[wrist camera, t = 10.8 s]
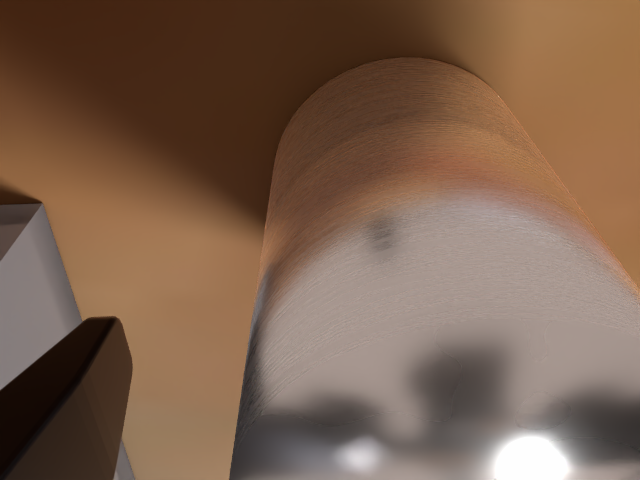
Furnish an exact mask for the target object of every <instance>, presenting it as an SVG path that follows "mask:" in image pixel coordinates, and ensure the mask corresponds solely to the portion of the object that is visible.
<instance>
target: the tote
mask: <svg viewBox="0 0 640 480" xmlns="http://www.w3.org/2000/svg"><path fill="white" fill-rule="evenodd" d="M81 323H82V319H81V316H80V313H79V310H78V307H77V304H76V301H75V298H74V295H73V292H72V289H71V286H70V283H69V280H68V277H67V274H66V271H65V268H64V265H63V263H62V260H61V257H60V254H59V251H58V248H57V245H56V242H55V239H54V236H53V233H52V230H51V227H50V224H49V221H48V218H47V215H46V212H45V209H44V206H43V203H40V204H13V205H0V390H1V389H2V388H3V387H4V386H6V385H7V384H8V383H9V382H10V381H12V380H13V379H14V378H15V377H16V376H18V375H19V374H20V373H21V372H23V371H24V370H25V369H26V368H27V367H29V366H30V365H31V364H32V363H33V362H35V361H36V360H37V359H38V358H39V357H41V356H42V355H43V354H44V353H46V352H47V351H48V350H49V349H50V348H52V347H53V346H54V345H55V344H56V343H58V342H59V341H60V340H61V339H62V338H64V337H65V336H66V335H67V334H69V333H70V332H71V331H72V330H73V329H75V328H76V327H77V326H78V325H79V324H81ZM114 480H135V478H134V475H133V472H132V469H131V466H130V463H129V460H128V457H127V454H126V451H125V448H124V445H123V442H122V439H121V444H120V449H119V455H118V461H117V466H116V471H115V476H114Z"/></svg>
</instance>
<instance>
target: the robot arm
mask: <svg viewBox="0 0 640 480" xmlns="http://www.w3.org/2000/svg"><path fill="white" fill-rule="evenodd" d="M132 369H133V366H132V357H131V354H130V350H129V347H128V343H127V340H126V336H125V333H124V329H123V326H122V323H121V321H120V320H119V319H118V318H117V317H114V316H107V317H91V318H88V319H86V320H84V321H83V322H82V323H81V324H79V325H78V326H77V327H76V328H75V329H73V330H72V331H71V332H70V333H69V334H67V335H66V336H65V337H64V338H62V339H61V340H60V341H59V342H58V343H56V344H55V345H54V346H53V347H52V348H50V349H49V350H48V351H47V352H46V353H44V354H43V355H42V356H41V357H39V358H38V359H37V360H36V361H35V362H33V363H32V364H31V365H30V366H29V367H27V368H26V369H25V370H24V371H23V372H21V373H20V374H19V375H18V376H16V377H15V378H14V379H13V380H12V381H10V382H9V383H8V384H7V385H6V386H4V387H3V388H2V389H1V390H0V480H114V476H115V471H116V466H117V461H118V455H119V449H120V444H121V438H122V432H123V426H124V420H125V414H126V408H127V402H128V396H129V390H130V384H131V378H132Z"/></svg>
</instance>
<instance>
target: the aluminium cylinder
mask: <svg viewBox="0 0 640 480" xmlns="http://www.w3.org/2000/svg"><path fill="white" fill-rule="evenodd" d="M229 480H640V289H639V288H638V286H637V285H636V284H635V282H634V281H633V279H632V278H631V277H630V275H629V274H628V273H627V271H626V270H625V268H624V267H623V266H622V264H621V263H620V261H619V260H618V259H617V257H616V256H615V255H614V253H613V252H612V250H611V249H610V248H609V246H608V245H607V243H606V242H605V241H604V239H603V238H602V236H601V235H600V234H599V232H598V231H597V230H596V228H595V227H594V225H593V224H592V223H591V221H590V220H589V218H588V217H587V216H586V214H585V213H584V212H583V210H582V209H581V207H580V206H579V205H578V203H577V202H576V200H575V199H574V198H573V196H572V195H571V194H570V192H569V191H568V189H567V188H566V187H565V185H564V184H563V182H562V181H561V180H560V178H559V177H558V175H557V174H556V173H555V171H554V170H553V169H552V167H551V166H550V164H549V163H548V162H547V160H546V159H545V157H544V156H543V155H542V153H541V152H540V151H539V149H538V148H537V146H536V145H535V144H534V142H533V141H532V139H531V138H530V137H529V135H528V134H527V133H526V131H525V130H524V128H523V127H522V126H521V124H520V123H519V121H518V120H517V119H516V117H515V116H514V114H513V113H512V112H511V110H510V109H509V108H508V106H507V105H506V103H505V102H504V101H503V100H502V99H501V98H500V96H499V95H498V94H497V93H496V92H495V91H494V90H493V89H492V88H491V87H490V86H488V85H487V84H486V83H485V82H484V81H483V80H481V79H479V78H478V77H476V76H475V75H473V74H471V73H470V72H468V71H466V70H463V69H461V68H459V67H457V66H454V65H452V64H448V63H445V62H441V61H438V60H432V59H425V58H418V57H398V58H390V59H383V60H378V61H374V62H370V63H366V64H363V65H360V66H358V67H355V68H353V69H350V70H348V71H345V72H344V73H342V74H340V75H338V76H336V77H335V78H333V79H331V80H329V81H328V82H327V83H325V84H324V85H323V86H321V87H320V88H319V89H317V90H316V91H315V92H314V93H313V94H312V95H311V96H310V97H309V98H308V99H307V100H306V101H305V102H303V104H302V105H301V106H300V107H299V109H298V110H297V111H296V113H295V114H294V115H293V117H292V118H291V120H290V122H289V123H288V125H287V127H286V128H285V130H284V133H283V135H282V137H281V140H280V142H279V145H278V149H277V153H276V157H275V161H274V168H273V175H272V182H271V189H270V196H269V203H268V210H267V217H266V224H265V231H264V238H263V245H262V252H261V259H260V266H259V273H258V280H257V287H256V294H255V301H254V308H253V315H252V322H251V329H250V336H249V343H248V350H247V357H246V364H245V371H244V378H243V385H242V392H241V399H240V406H239V413H238V420H237V427H236V434H235V441H234V448H233V455H232V462H231V469H230V478H229Z"/></svg>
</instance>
